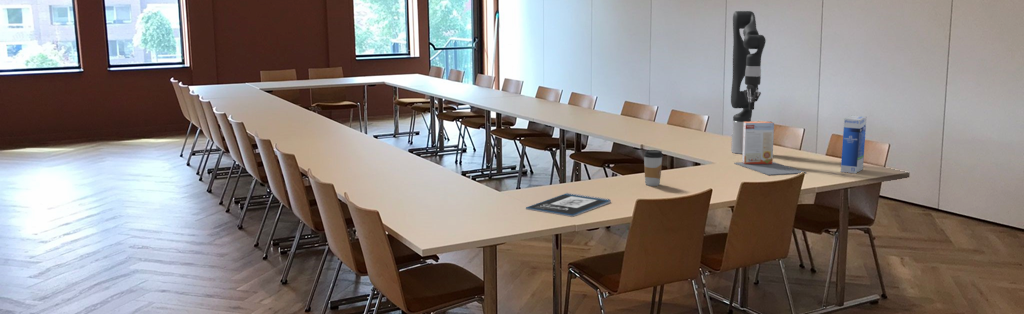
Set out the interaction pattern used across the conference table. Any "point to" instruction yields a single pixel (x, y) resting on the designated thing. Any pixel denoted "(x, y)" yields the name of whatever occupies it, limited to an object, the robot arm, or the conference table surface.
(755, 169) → the mat
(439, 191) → the conference table surface
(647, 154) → the coffee cup
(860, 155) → the blue cardboard box
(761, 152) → the cracker box
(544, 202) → the sketchbook
